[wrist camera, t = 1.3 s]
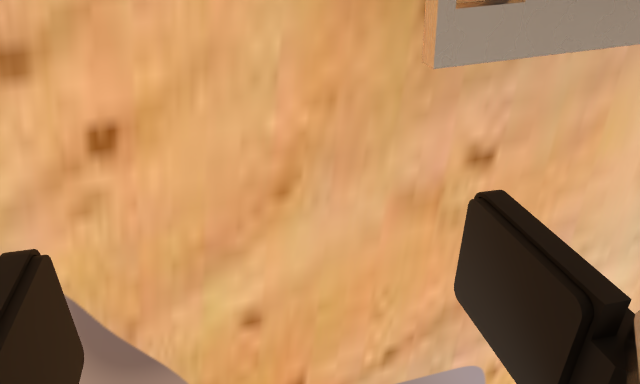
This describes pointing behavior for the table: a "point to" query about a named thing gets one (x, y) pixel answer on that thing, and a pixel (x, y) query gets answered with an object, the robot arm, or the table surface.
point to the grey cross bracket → (524, 29)
